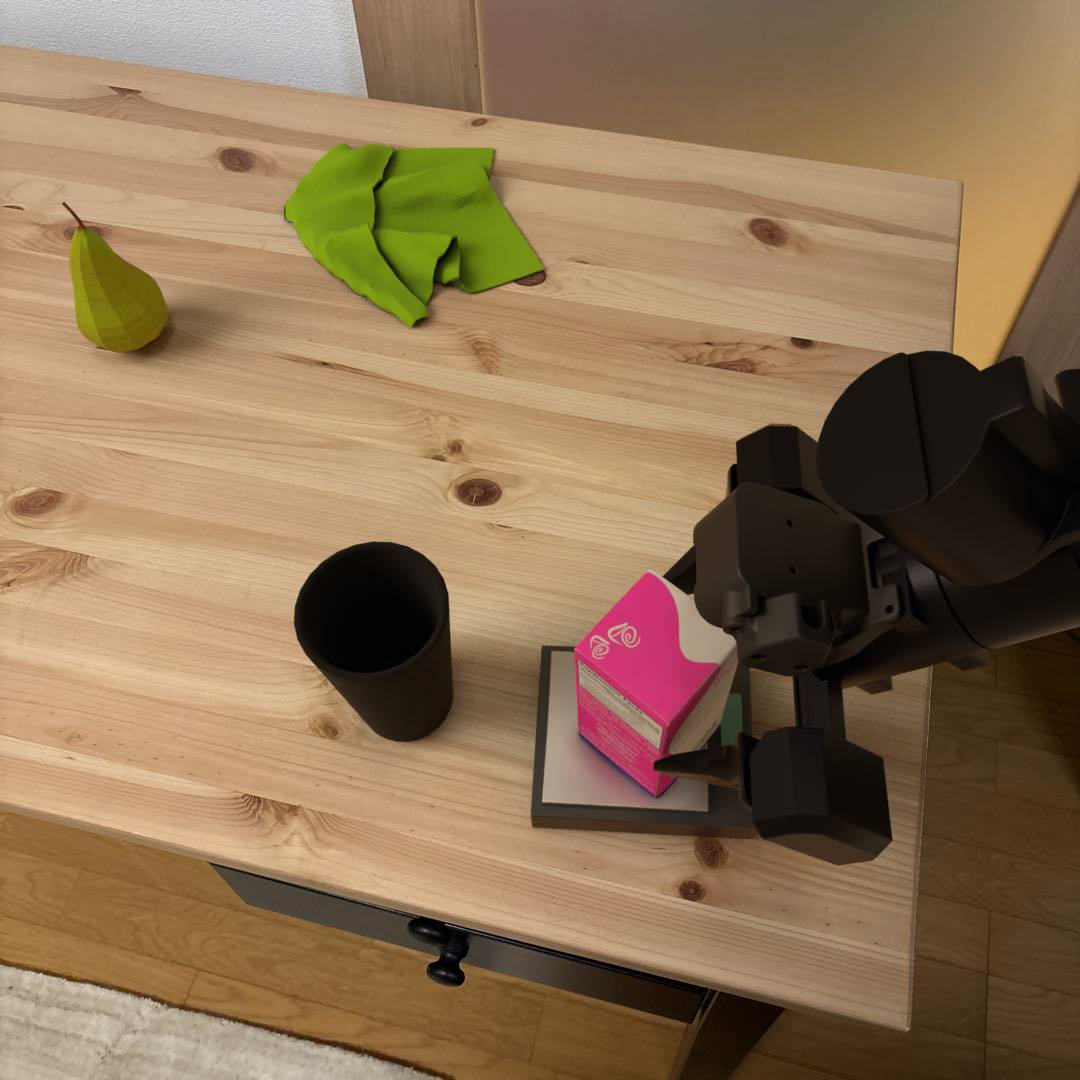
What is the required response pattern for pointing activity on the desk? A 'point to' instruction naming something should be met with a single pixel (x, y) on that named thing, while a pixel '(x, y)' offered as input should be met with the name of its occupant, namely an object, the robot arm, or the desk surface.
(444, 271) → the cloth
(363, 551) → the cup
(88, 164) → the desk surface
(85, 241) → the fruit
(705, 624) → the supplement box
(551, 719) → the scale
